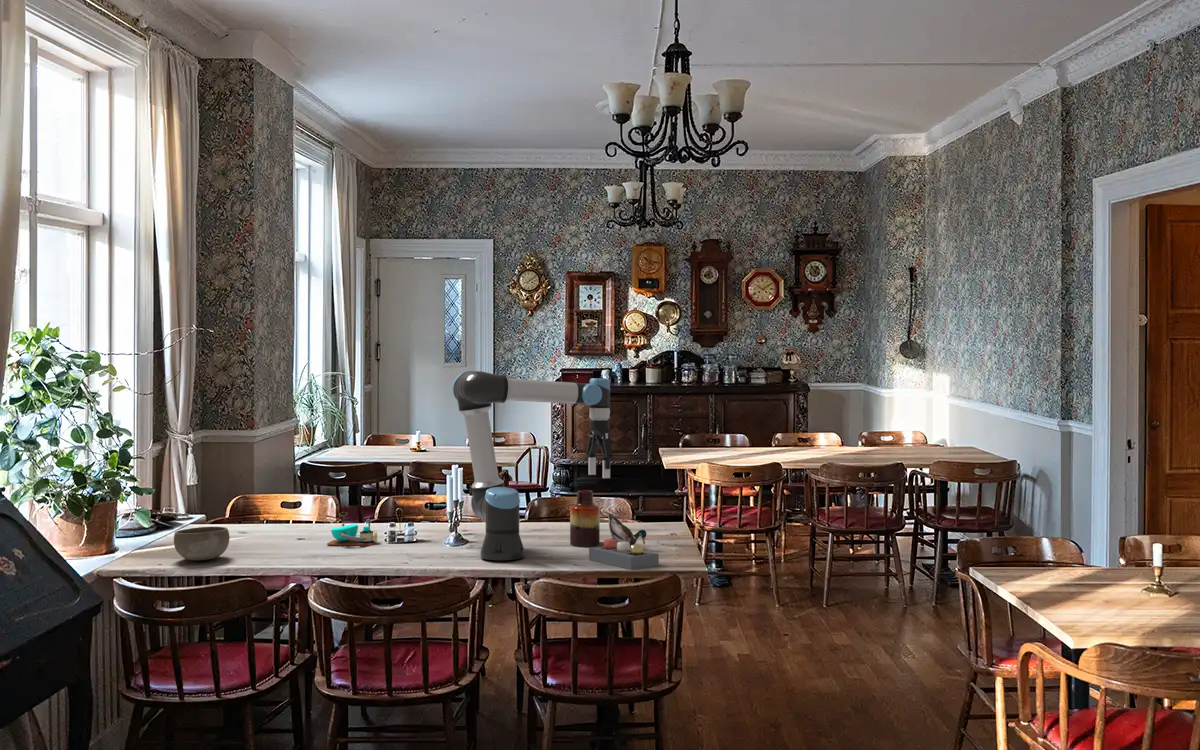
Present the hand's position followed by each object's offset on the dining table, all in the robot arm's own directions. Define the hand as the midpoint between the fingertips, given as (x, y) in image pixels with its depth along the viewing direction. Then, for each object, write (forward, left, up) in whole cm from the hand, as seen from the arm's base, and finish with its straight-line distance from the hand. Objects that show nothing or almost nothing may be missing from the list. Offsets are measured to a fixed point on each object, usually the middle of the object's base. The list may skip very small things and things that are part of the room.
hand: (599, 476), depth 381 cm
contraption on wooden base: (-74, +53, -26) cm, 95 cm away
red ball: (-18, -29, -22) cm, 40 cm away
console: (-18, -36, -25) cm, 47 cm away
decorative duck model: (0, -20, -25) cm, 32 cm away
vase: (-8, -2, -25) cm, 27 cm away
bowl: (-126, +60, -25) cm, 142 cm away
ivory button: (-18, -36, -22) cm, 46 cm away
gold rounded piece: (-18, -43, -22) cm, 51 cm away
